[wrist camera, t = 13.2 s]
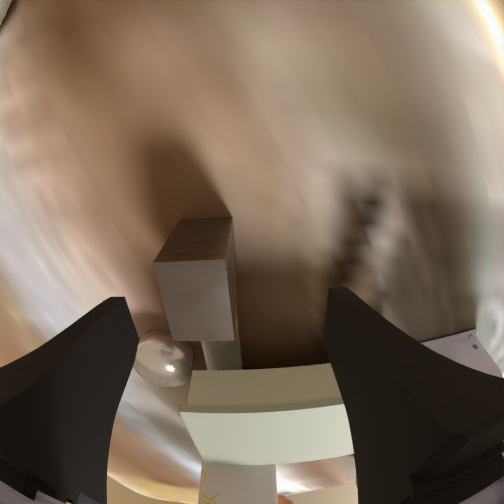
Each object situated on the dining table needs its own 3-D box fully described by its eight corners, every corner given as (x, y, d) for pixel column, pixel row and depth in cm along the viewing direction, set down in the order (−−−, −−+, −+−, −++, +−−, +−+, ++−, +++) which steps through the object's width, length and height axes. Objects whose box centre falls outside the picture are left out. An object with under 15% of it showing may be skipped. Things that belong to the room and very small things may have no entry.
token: (185, 327, 23) (180, 347, 21) (199, 367, 25) (196, 387, 23) (132, 329, 23) (123, 347, 21) (150, 368, 25) (144, 386, 23)
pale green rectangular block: (387, 322, 23) (422, 386, 16) (366, 389, 27) (385, 446, 20) (194, 336, 23) (179, 411, 16) (211, 402, 27) (205, 464, 20)
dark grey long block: (232, 217, 19) (225, 259, 13) (246, 377, 25) (246, 431, 20) (179, 220, 19) (153, 262, 13) (210, 378, 25) (203, 430, 20)
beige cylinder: (209, 410, 28) (199, 508, 17) (281, 417, 29) (288, 512, 18) (203, 440, 31) (195, 519, 20) (264, 446, 32) (267, 524, 21)
